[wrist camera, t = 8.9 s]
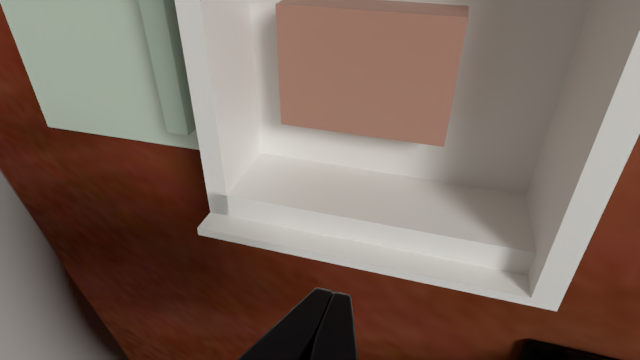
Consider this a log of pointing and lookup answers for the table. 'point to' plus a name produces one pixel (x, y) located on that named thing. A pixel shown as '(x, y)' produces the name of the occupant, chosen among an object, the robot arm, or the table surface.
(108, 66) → the lid
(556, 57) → the box
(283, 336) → the robot arm
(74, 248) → the table surface
